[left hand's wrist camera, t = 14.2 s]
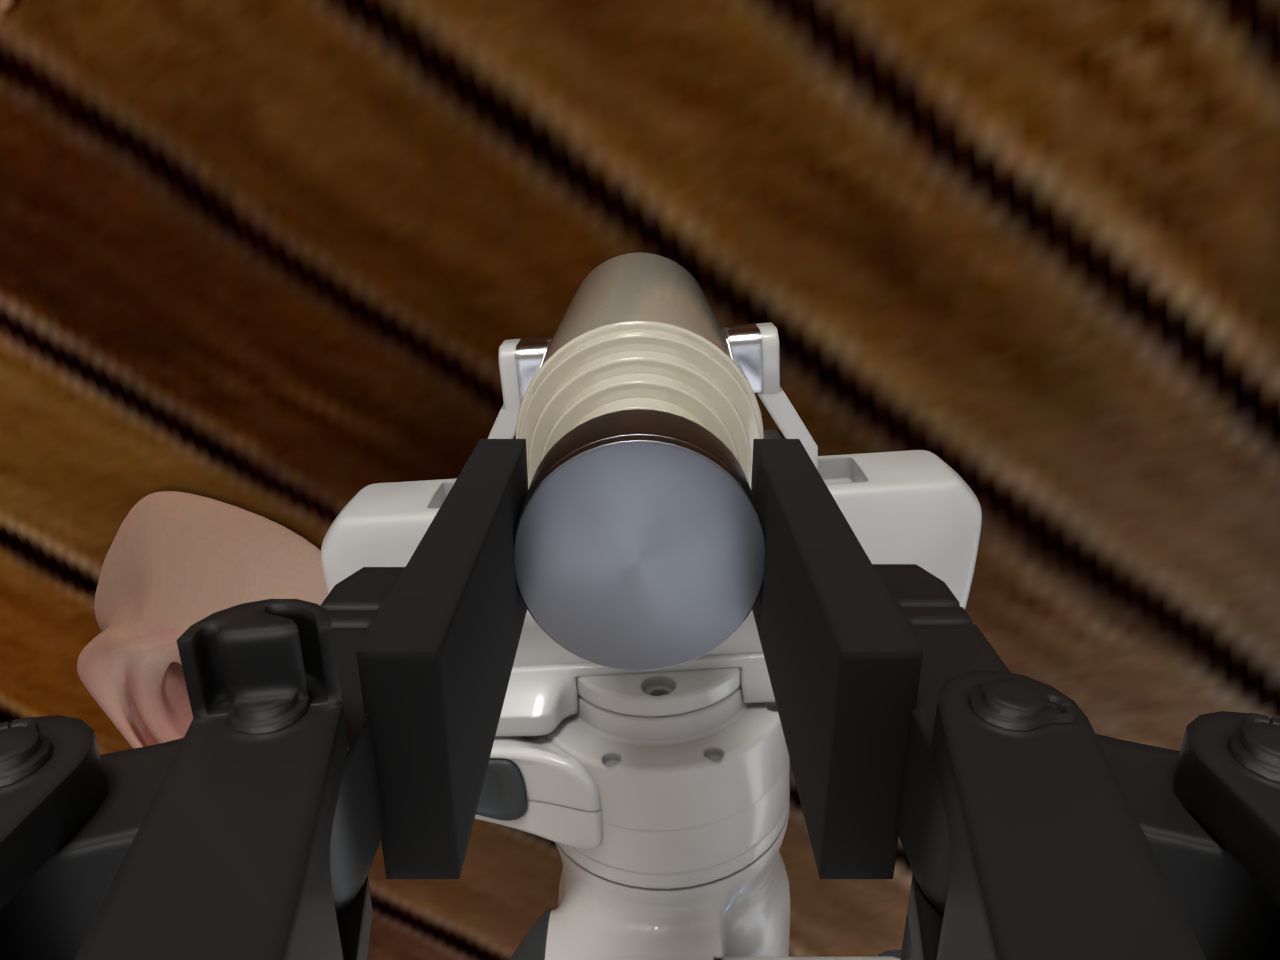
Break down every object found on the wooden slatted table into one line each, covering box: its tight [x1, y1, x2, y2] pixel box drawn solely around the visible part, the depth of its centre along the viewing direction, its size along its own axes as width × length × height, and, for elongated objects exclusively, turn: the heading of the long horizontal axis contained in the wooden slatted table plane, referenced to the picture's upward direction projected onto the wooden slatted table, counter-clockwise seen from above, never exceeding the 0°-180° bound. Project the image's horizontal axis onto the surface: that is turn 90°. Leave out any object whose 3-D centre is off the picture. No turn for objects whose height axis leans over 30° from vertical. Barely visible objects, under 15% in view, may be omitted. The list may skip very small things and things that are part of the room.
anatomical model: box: [77, 491, 328, 749], centre depth 34 cm, size 13×4×12 cm
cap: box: [514, 409, 766, 671], centre depth 13 cm, size 4×4×2 cm
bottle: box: [515, 253, 764, 490], centre depth 22 cm, size 5×5×20 cm
